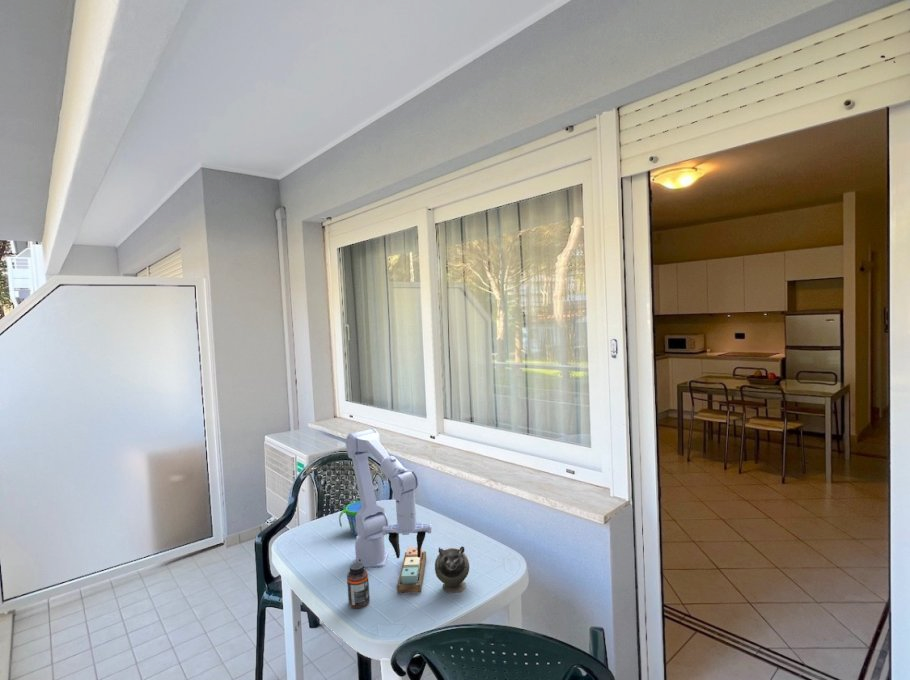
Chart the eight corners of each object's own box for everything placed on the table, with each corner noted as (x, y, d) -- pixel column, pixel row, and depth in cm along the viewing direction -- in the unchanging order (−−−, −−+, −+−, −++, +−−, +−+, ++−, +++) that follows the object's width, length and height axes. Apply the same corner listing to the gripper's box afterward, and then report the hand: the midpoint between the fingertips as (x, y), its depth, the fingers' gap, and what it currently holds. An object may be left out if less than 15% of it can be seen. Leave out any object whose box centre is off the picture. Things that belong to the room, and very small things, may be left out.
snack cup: (339, 540, 175) (337, 514, 174) (341, 528, 185) (339, 502, 185) (381, 535, 177) (380, 509, 177) (381, 523, 188) (379, 498, 187)
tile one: (404, 574, 147) (403, 564, 147) (406, 566, 152) (405, 556, 152) (419, 574, 147) (418, 563, 147) (420, 566, 152) (419, 556, 151)
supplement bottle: (350, 597, 139) (347, 560, 138) (370, 595, 140) (368, 558, 139) (347, 610, 133) (344, 571, 132) (368, 608, 134) (366, 569, 133)
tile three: (406, 564, 153) (406, 554, 153) (408, 556, 158) (408, 547, 158) (421, 563, 153) (420, 553, 153) (422, 556, 158) (421, 546, 158)
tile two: (401, 586, 141) (401, 575, 141) (403, 577, 146) (403, 567, 145) (417, 585, 141) (416, 575, 141) (418, 577, 145) (418, 566, 145)
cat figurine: (443, 601, 135) (476, 591, 139) (439, 561, 134) (473, 552, 138) (432, 583, 145) (463, 574, 148) (429, 545, 144) (460, 537, 147)
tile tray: (397, 593, 140) (397, 585, 140) (405, 559, 159) (405, 552, 159) (421, 592, 140) (420, 584, 140) (426, 558, 159) (426, 551, 159)
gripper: (379, 519, 138) (382, 564, 139) (429, 517, 138) (431, 562, 139) (383, 509, 145) (386, 552, 146) (430, 507, 145) (433, 550, 146)
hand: (408, 556), depth 143 cm, fingers open, 6 cm apart
